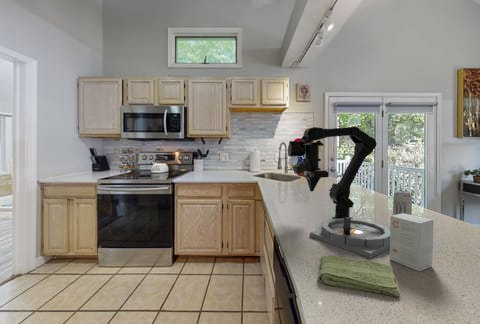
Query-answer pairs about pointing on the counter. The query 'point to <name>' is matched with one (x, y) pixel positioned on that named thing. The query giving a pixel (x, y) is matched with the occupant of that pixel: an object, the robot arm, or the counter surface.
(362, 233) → the dial
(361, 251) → the grey round platform
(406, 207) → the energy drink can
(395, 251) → the small box
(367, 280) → the washcloth
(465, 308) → the counter surface
